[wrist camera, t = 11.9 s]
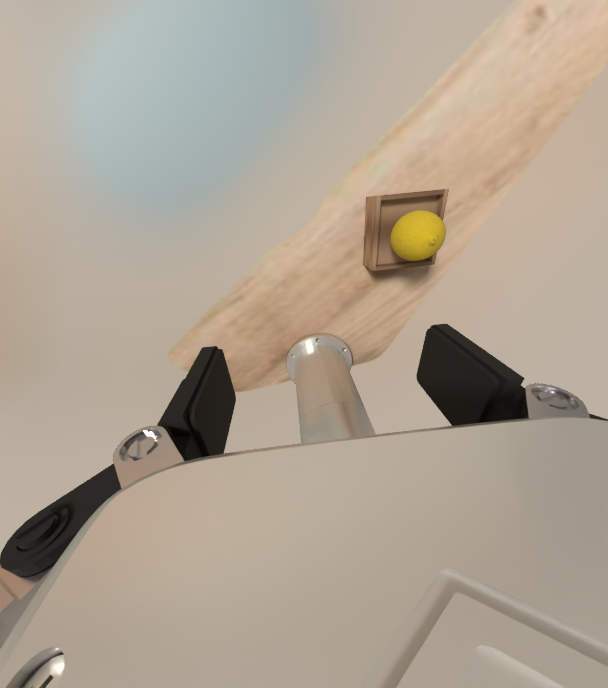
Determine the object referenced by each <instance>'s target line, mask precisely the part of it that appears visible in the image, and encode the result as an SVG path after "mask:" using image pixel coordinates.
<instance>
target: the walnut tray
mask: <svg viewBox="0 0 608 688" xmlns="http://www.w3.org/2000/svg"><path fill="white" fill-rule="evenodd" d="M448 192H449V189H443V190H433V191H423V192H413V193H403V194H392V195H382V196H373V197H366V213H365V236H364V259H363V265H364V266H366V267H367V268H369V269H370V270H372V271H377V270H386V269H396V268H405V267H414V266H423V265H432V264H435V258H436V253H437V252H436V253H435V254H434V255H432V256H431V257H429V258H426V259H424V260H418V261H412V260H406V259H404V258H401V257H400V256H398V255H397V254H396V253H395V252H394V250H393V248H392V246H391V242H390V237H391V232H392V229H393V227H394V225H395V224H396V222H397V221H398V220H399V219H400V218H401V217H402V216H404V215H406V214H408V213H410V212H413V211H417V210H425V211H429V212H432V213H434V214H436V215H437V216H438V217H440V218H441V220H442V221H443V217H444V212H445V207H446V202H447V197H448Z"/></svg>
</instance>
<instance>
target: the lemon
mask: <svg viewBox="0 0 608 688" xmlns="http://www.w3.org/2000/svg"><path fill="white" fill-rule="evenodd" d="M445 235H446V229H445V225H444V223H443V221H442V220H441V218H440V217H438V216H437V215H436V214H434V213H432V212H429V211H425V210H417V211H413V212H410V213H408V214H406V215H404V216H402V217H401V218H400V219H399V220H398V221H397V222H396V224H395V225H394V227H393V229H392V232H391V237H390V242H391V246H392V248H393V250H394V252H395V253H396V254H397V255H398V256H400V257H401V258H404V259H406V260H412V261H418V260H424V259H426V258H429V257H431V256H432V255H434V254H435V253H436V252H437V251H438V250H439V249H440V247H441V246H442V244H443V242H444V239H445Z"/></svg>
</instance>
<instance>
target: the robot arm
mask: <svg viewBox="0 0 608 688" xmlns="http://www.w3.org/2000/svg"><path fill="white" fill-rule="evenodd" d="M317 338H318V339H317ZM292 354H293V355H292ZM351 366H352V356H351V353H350V350H349V348H348V346H347V345H346V344H345V343H344V342H343V341H342V340H341V339H339V338H337V337H335V336H332V335H329V334H315V335H311V336H308V337H305V338H303V339H301V340H300V341H298V342H297V343H296V344H295V345H294V346H293V347H292V348H291V350H290V351H289V353H288V356H287V360H286V369H287V373H288V375H289V377H290V379H291V380H292V381H293V382H294V383H295V384H296V390H297V401H298V413H299V424H300V434H301V442H302V444H294V445H285V446H278V447H269V448H261V449H254V450H247V451H240V452H232V453H225V454H224V449H225V445H226V440H227V436H228V432H229V427H230V423H231V419H232V415H233V410H234V406H235V401H236V397H235V392H234V389H233V385H232V382H231V378H230V374H229V371H228V367H227V364H226V360H225V357H224V353H223V350H222V349H218V348H217V346H213V347H204V348H202V349H201V351H200V353H199V355H198V357H197V358H196V360H195V362H194V364H193V365H192V367H191V369H190V371H189V373H188V374H187V377H186V378H185V379H184V380H183V381H182V382H181V384H180V386H179V388H178V389H177V391H176V393H175V395H174V397H173V398H172V400H171V402H170V403H169V405H168V407H167V409H166V411H165V412H164V414H163V416H162V418H161V420H160V421H159V423H158V425H157V426H148V427H144V428H141V429H139V430H137V431H135V432H133V433H132V434H130V435H129V436H127V437H126V438H125V439H124V440H123V441H122V442H121V443H120V444H119V445H118V446H117V448H116V449H115V452H114V454H113V462H114V464H112V465H111V466H109V467H108V468H106V469H104V470H103V471H101V472H100V473H98V474H97V475H95V476H94V477H92V478H91V479H89V480H87V481H86V482H84V483H83V484H81V485H80V486H78V487H77V488H75V489H74V490H72V491H71V492H69V493H67V494H66V495H64V496H63V497H61V498H60V499H58V500H57V501H55V502H54V503H52V504H50V505H49V506H47V507H46V508H44V509H43V510H41V511H40V512H38V513H37V514H36V515H34V516H33V517H31V518H30V519H29V520H27V521H26V522H25V523H24V524H23V525H22V526H21V527H20V528H19V529H18V530H17V531H16V532H15V533H14V534H13V535H12V537H11V538H10V539H9V540H8V542H7V543H6V545H5V547H4V549H3V550H2V552H1V557H0V688H608V419H604V418H601V417H598V416H595V415H592V414H589V413H588V411H587V408H586V406H585V405H584V403H583V402H582V401H581V400H580V399H579V398H578V397H576V396H575V395H573V394H571V393H570V392H568V391H566V390H563V389H561V388H558V387H555V386H552V385H547V384H539V383H538V384H536V383H535V384H530V385H528V386H526V388H523V387H522V386H521V383H522V382H523V380H524V378H523V377H522V376H520V375H519V374H517V373H516V372H515V371H513V370H512V369H510V368H509V367H507V366H506V365H505V364H503V363H502V362H500V361H499V360H497V359H496V358H495V357H493V356H492V355H490V354H489V353H487V352H486V351H485V350H483V349H482V348H481V347H479V346H478V345H476V344H475V343H473V342H472V341H471V340H469V339H468V338H466V337H465V336H463V335H462V334H460V333H459V332H458V331H456V330H455V329H453V328H452V327H450V326H449V325H448V324H439V325H433V326H431V328H430V329H428V330H427V332H426V336H425V341H424V345H423V350H422V354H421V359H420V363H419V367H418V371H417V381H418V382H419V384H420V385H421V387H422V388H423V389H424V390H425V392H426V393H427V394H428V395H429V397H430V398H431V399H432V401H433V402H434V403H435V404H436V406H437V407H438V408H439V410H440V411H441V412H442V413H443V415H444V416H445V417H446V418H447V420H448V421H449V422H450V423H451V425H452V426H448V427H439V428H430V429H420V430H411V431H404V432H394V433H385V434H378V435H376V434H375V432H374V429H373V427H372V424H371V422H370V420H369V418H368V415H367V413H366V410H365V408H364V405H363V403H362V401H361V398H360V396H359V394H358V391H357V389H356V386H355V384H354V382H353V379H352V377H351V374H350V372H349V371H350V369H351Z"/></svg>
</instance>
